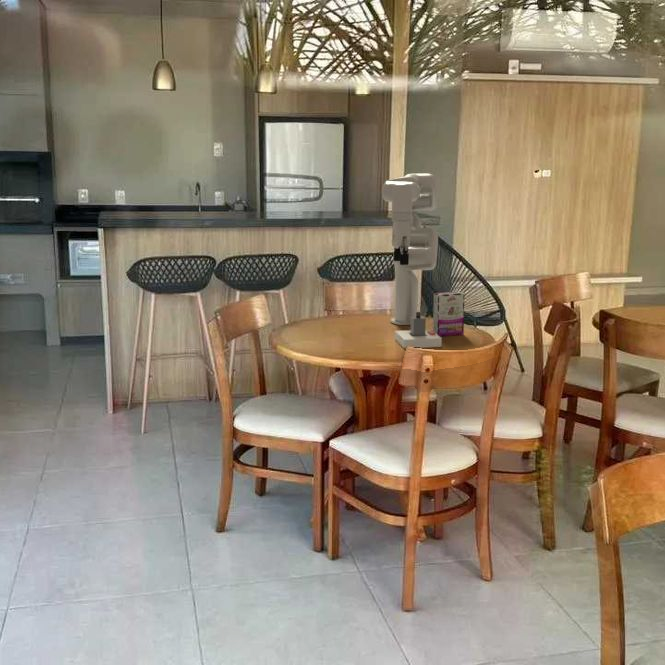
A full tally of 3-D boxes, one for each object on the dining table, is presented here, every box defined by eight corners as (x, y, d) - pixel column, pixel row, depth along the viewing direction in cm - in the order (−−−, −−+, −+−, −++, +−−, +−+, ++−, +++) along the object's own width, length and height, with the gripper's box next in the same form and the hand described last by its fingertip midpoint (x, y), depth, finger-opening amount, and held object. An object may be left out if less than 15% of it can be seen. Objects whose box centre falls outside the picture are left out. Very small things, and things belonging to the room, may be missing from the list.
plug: (410, 340, 286) (411, 311, 284) (422, 339, 287) (422, 310, 284) (413, 342, 282) (413, 313, 280) (425, 342, 283) (425, 313, 280)
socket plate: (395, 339, 290) (395, 328, 289) (430, 337, 292) (431, 327, 291) (403, 348, 277) (404, 337, 276) (441, 346, 279) (441, 336, 278)
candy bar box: (458, 331, 301) (459, 290, 297) (463, 334, 297) (465, 293, 293) (432, 333, 298) (433, 292, 294) (437, 336, 294) (438, 294, 290)
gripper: (386, 215, 293) (386, 259, 297) (397, 219, 276) (396, 266, 280) (406, 215, 294) (405, 259, 298) (417, 219, 277) (416, 266, 281)
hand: (401, 262), depth 289 cm, fingers open, 9 cm apart
